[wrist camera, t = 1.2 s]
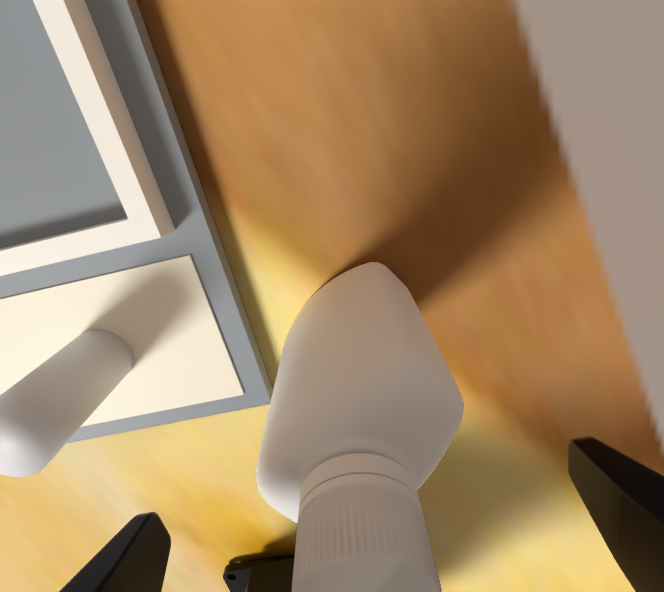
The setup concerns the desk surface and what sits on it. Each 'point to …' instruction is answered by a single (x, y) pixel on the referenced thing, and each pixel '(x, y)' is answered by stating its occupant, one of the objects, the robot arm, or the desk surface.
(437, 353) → the white bottle
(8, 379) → the board
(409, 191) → the desk surface
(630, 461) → the robot arm
